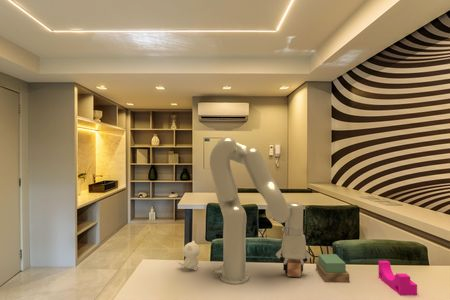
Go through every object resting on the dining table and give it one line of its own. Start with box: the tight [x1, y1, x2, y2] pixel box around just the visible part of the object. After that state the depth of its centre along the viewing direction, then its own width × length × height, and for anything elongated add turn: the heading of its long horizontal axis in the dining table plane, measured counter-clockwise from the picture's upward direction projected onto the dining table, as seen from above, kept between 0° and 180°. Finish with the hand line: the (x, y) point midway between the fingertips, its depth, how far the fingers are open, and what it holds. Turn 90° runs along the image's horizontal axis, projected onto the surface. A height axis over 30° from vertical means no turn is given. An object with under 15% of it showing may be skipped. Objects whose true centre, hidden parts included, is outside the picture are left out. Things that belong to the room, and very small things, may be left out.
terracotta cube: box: [286, 259, 302, 278], centre depth 121 cm, size 6×6×6 cm
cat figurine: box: [176, 240, 201, 271], centre depth 128 cm, size 9×11×12 cm
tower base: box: [315, 261, 350, 283], centre depth 120 cm, size 10×12×4 cm
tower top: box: [317, 253, 347, 273], centre depth 120 cm, size 8×10×4 cm
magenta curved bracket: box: [377, 260, 418, 296], centre depth 111 cm, size 15×6×8 cm, turn 179°
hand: (293, 272), depth 121 cm, fingers closed on terracotta cube, 5 cm apart
